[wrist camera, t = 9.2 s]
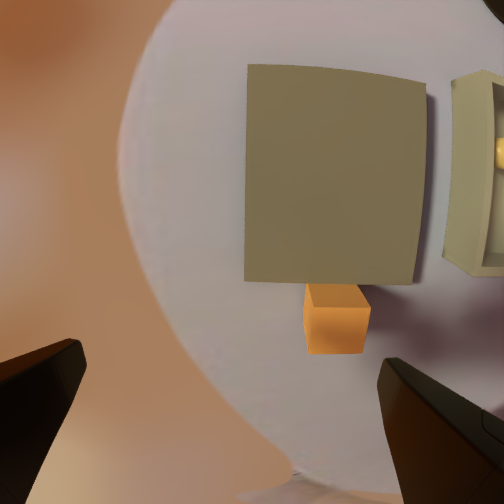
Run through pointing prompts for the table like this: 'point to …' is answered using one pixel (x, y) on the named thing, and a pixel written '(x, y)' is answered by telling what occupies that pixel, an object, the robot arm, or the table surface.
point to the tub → (477, 176)
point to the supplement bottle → (496, 7)
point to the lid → (333, 190)
